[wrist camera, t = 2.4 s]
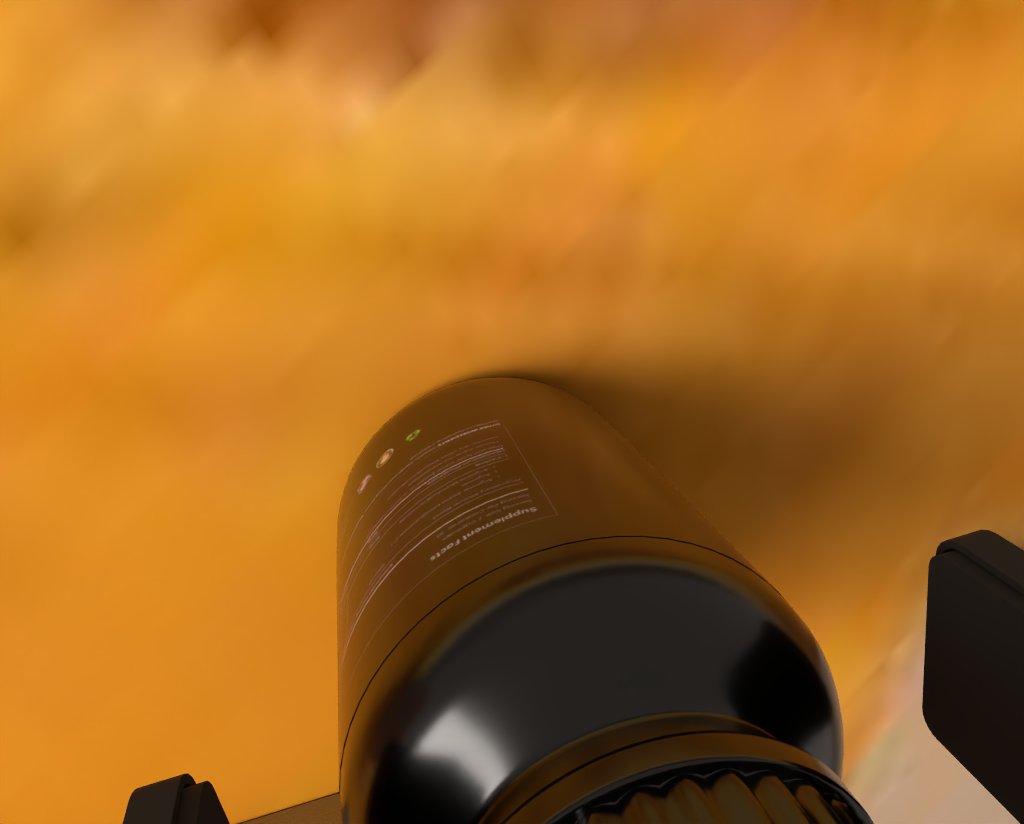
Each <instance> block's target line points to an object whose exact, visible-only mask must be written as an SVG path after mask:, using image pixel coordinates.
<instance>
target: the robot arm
mask: <svg viewBox="0 0 1024 824" xmlns="http://www.w3.org/2000/svg"><path fill="white" fill-rule="evenodd" d="M922 709H923V715H924V719H925V721H926V723H927V726H928V728H929V729H930V731H931V732H932V734H933V735H934V736H935V737H936V739H937V740H938V741H939V742H940V743H941V744H942V745H943V746H944V747H945V748H946V749H947V750H948V751H949V752H950V753H951V754H952V755H953V756H954V757H955V758H956V759H957V760H958V761H959V762H960V763H961V764H962V765H963V766H964V767H965V768H966V769H967V770H968V771H969V772H970V773H971V774H972V775H973V776H974V777H975V778H976V779H977V780H978V781H979V782H980V783H981V784H982V785H983V786H984V787H985V788H986V789H987V790H988V791H989V792H990V793H991V794H992V795H993V796H994V797H995V798H996V799H997V800H998V801H999V802H1000V803H1001V804H1002V805H1003V806H1004V807H1005V808H1006V809H1007V810H1008V811H1009V812H1010V813H1011V814H1012V815H1013V816H1014V817H1015V818H1016V820H1017V821H1018V822H1019V823H1020V824H1024V551H1023V550H1022V549H1020V548H1018V547H1017V546H1015V545H1014V544H1012V543H1010V542H1009V541H1007V540H1006V539H1004V538H1002V537H1001V536H999V535H998V534H996V533H994V532H991V531H989V530H979V531H976V532H972V533H969V534H966V535H963V536H959V537H956V538H953V539H949V540H946V541H944V542H942V543H940V545H939V546H938V548H937V551H936V556H934V557H932V559H931V560H930V563H929V573H928V595H927V617H926V639H925V661H924V682H923V704H922ZM123 824H229V821H228V819H227V817H226V815H225V812H224V810H223V808H222V806H221V803H220V801H219V799H218V797H217V794H216V792H215V790H214V788H213V786H212V784H211V783H210V782H209V781H205V782H202V783H198V784H196V783H195V781H194V779H193V778H192V776H190V775H189V774H183V775H179V776H176V777H173V778H169V779H166V780H163V781H160V782H156V783H153V784H150V785H147V786H143V787H140V788H137V789H135V790H134V791H133V793H132V794H131V797H130V799H129V802H128V806H127V809H126V813H125V817H124V821H123Z"/></svg>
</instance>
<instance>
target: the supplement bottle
mask: <svg viewBox="0 0 1024 824" xmlns="http://www.w3.org/2000/svg"><path fill="white" fill-rule="evenodd" d="M337 639H338V740H339V792H340V805H341V817H342V824H874V823H873V821H872V820H871V818H870V816H869V815H868V814H867V812H866V811H865V810H864V808H863V807H862V806H861V805H860V803H859V802H858V801H857V800H856V798H855V797H854V796H853V795H852V793H851V792H850V791H849V790H848V788H847V787H846V786H845V784H844V783H843V782H842V781H841V778H842V771H843V755H844V741H843V724H842V716H841V711H840V705H839V699H838V694H837V691H836V687H835V684H834V681H833V677H832V674H831V671H830V668H829V666H828V663H827V661H826V659H825V657H824V654H823V652H822V650H821V648H820V646H819V644H818V643H817V641H816V639H815V638H814V636H813V634H812V633H811V631H810V630H809V628H808V627H807V626H806V624H805V623H804V622H803V621H802V619H801V618H800V617H799V616H798V614H797V613H796V612H795V611H794V610H793V608H792V607H791V606H790V605H789V604H788V602H787V601H786V600H785V599H784V598H783V597H782V596H781V594H780V593H779V592H778V591H777V590H776V589H775V588H774V587H773V586H772V585H771V584H770V583H769V582H768V581H767V580H766V579H765V578H764V577H763V576H762V575H761V574H760V573H759V572H758V571H757V570H756V569H755V568H754V567H753V566H752V565H751V564H750V563H749V562H748V561H747V560H746V559H745V558H744V557H743V556H742V555H741V554H740V553H739V552H738V551H737V550H736V549H735V548H734V547H733V546H732V545H731V544H730V543H729V542H728V541H727V540H726V539H725V538H724V537H723V536H722V535H721V534H720V533H719V532H718V531H717V530H716V529H715V528H714V527H713V526H712V525H711V524H710V523H709V522H708V521H707V520H706V519H705V518H704V517H703V516H702V515H701V514H700V513H699V512H698V511H697V510H696V509H695V508H694V507H693V506H692V505H691V504H690V503H689V502H688V501H687V500H686V499H685V498H684V497H683V496H682V495H681V494H680V493H679V492H678V491H677V490H676V489H675V488H674V487H673V486H672V485H671V484H670V483H669V482H668V481H667V480H666V479H665V478H664V477H663V476H662V475H661V474H660V473H659V472H658V471H657V470H656V469H655V468H654V467H653V466H652V465H651V464H650V463H649V462H648V461H647V460H646V459H645V458H644V457H643V456H642V455H641V454H640V453H639V452H638V451H637V450H636V449H635V448H634V447H633V446H632V445H631V444H630V443H629V442H628V441H627V440H626V439H625V438H624V437H623V436H622V435H621V434H620V433H619V432H618V431H617V430H616V429H615V428H614V427H613V426H612V425H611V424H609V423H608V422H607V421H606V420H605V419H604V418H603V417H602V416H601V415H600V414H599V413H598V412H596V411H595V410H594V409H592V408H591V407H590V406H589V405H587V404H586V403H584V402H583V401H581V400H580V399H578V398H576V397H575V396H573V395H571V394H569V393H567V392H565V391H563V390H561V389H559V388H556V387H554V386H551V385H548V384H545V383H541V382H537V381H533V380H528V379H521V378H510V377H492V378H480V379H473V380H467V381H463V382H459V383H455V384H452V385H449V386H446V387H443V388H440V389H438V390H436V391H433V392H431V393H429V394H427V395H425V396H423V397H421V398H419V399H418V400H416V401H414V402H413V403H411V404H409V405H408V406H407V407H405V408H404V409H402V410H401V411H400V412H398V413H397V414H396V415H395V416H393V417H392V418H391V419H390V420H389V421H388V422H387V423H385V424H384V425H383V427H382V428H381V429H380V430H379V431H378V432H377V433H376V434H375V435H374V436H373V437H372V439H371V440H370V441H369V443H368V444H367V445H366V446H365V448H364V449H363V451H362V452H361V454H360V456H359V457H358V459H357V460H356V462H355V464H354V466H353V468H352V470H351V472H350V475H349V477H348V480H347V482H346V485H345V488H344V492H343V496H342V499H341V504H340V510H339V517H338V531H337Z"/></svg>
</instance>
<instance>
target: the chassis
mask: <svg viewBox="0 0 1024 824" xmlns="http://www.w3.org/2000/svg"><path fill="white" fill-rule="evenodd" d="M241 824H342V817H341V805H340V793H338V794H334V795H331V796H328V797H325V798H322V799H318V800H315V801H312V802H309V803H305V804H302V805H299V806H296V807H293V808H289V809H286V810H283V811H280V812H277V813H273V814H270V815H267V816H264V817H260V818H257V819H254V820H251V821H248V822H244V823H241Z"/></svg>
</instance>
